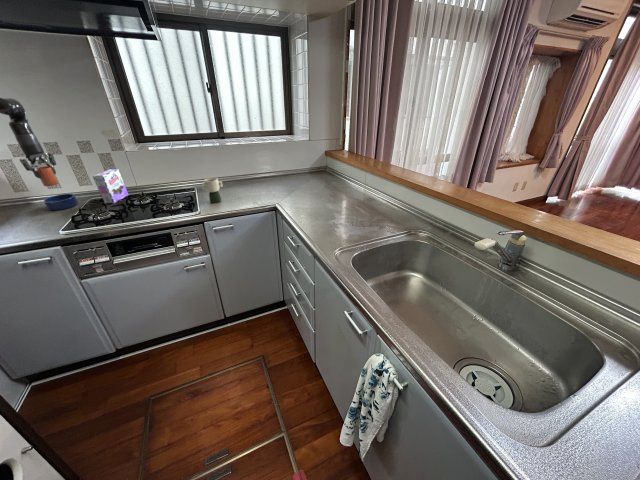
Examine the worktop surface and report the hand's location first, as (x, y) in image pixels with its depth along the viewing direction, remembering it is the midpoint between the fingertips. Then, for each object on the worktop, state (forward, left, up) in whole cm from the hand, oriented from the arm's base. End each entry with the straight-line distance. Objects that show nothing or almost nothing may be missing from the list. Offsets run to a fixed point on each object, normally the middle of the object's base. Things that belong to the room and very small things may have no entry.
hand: (46, 175), depth 142 cm
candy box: (+26, +2, -18) cm, 32 cm away
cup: (0, 0, -5) cm, 5 cm away
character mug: (+83, -21, -18) cm, 87 cm away
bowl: (0, 0, -18) cm, 18 cm away
